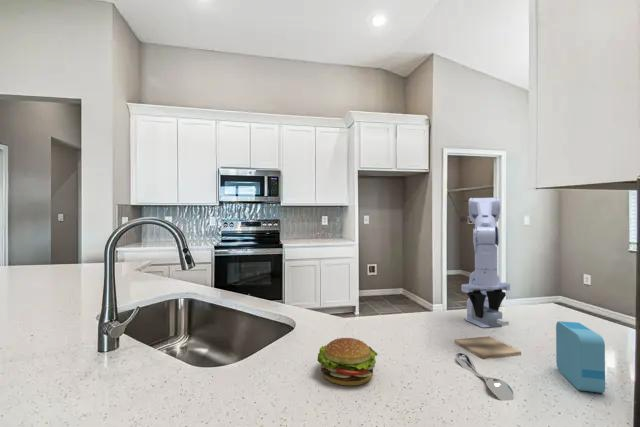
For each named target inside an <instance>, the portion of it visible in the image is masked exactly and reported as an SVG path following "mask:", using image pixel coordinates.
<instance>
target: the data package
mask: <svg viewBox="0 0 640 427" xmlns="http://www.w3.org/2000/svg"><path fill="white" fill-rule="evenodd" d="M555 333H556V334H555V336H556V337H555V338H556V339H555V340H556V341H555V344H556V348H555V349H556V352H555V355H556V359H555V360H556V363H555V364H556V367H557V370H558V371H559V372H560V374H562V376H564V378H566V379H567V380H568V381H569V383H570V384H571V385H572V386H573V387H574V388H576V389H577V390H578V391H582V392H589V393H598V394H599V393H601V394H604V393H605V391H606V344H605V339H604V338H603V337H602V336H601V335H600V334H599V333H596V332H595V331H594V330H592V329H590V328H588V327H587V326H586V325H584V324H582V323H581V322H576V321H575V322H574V321H573V322H572V321H562V320H561V321H557V322H556V324H555Z"/></svg>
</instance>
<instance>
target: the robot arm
mask: <svg viewBox="0 0 640 427" xmlns="http://www.w3.org/2000/svg"><path fill="white" fill-rule="evenodd" d="M500 214H501V199H500V197H498V196H496V197H470V198H469V199H468V218H469V221H470V222H472V223H474V228H473V229H472V233H473V234H472V242H473V248H474V249H473V250H474V251H473V252H474V270H473V271H472V272H471V273H470V274H469V279H468V283H464V284H461V286H460V287H461V288H460V289H461V292H463V293H466V294H467V296H468V299H467V301H466V317H465V318H464V320H465V321H467V322H469V323H472V324H474V325H476V326H478V327H481V328H483V329H484V328H491V327H490V326H488V325H485V324H483V323H481V322H478V321H476V320H474V319H472V318H471V306H472V305H473V307H474V311H475V315H476V317H479V318H483V307H484V306H485V307H488V308H491V309H494V310H496V311H499V310H500V306H501V304H502V303H503V300H505V298H506V296H507V295H506V292H505V291H511V283H507V282H501V280H500V279H501V278H500V276H499V274H498V247H499V244H500V231H499V226H498V225H497V224H496V223H497V222H499V219H500Z"/></svg>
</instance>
